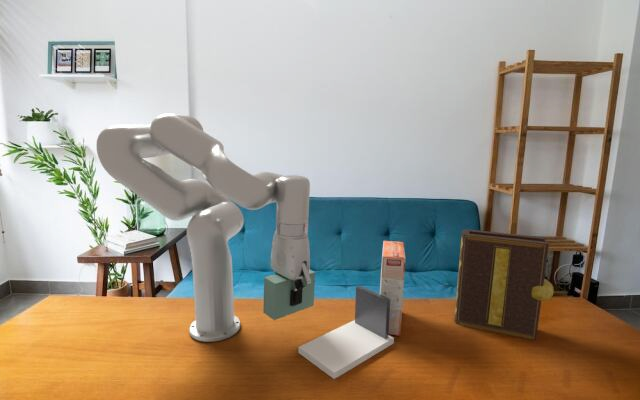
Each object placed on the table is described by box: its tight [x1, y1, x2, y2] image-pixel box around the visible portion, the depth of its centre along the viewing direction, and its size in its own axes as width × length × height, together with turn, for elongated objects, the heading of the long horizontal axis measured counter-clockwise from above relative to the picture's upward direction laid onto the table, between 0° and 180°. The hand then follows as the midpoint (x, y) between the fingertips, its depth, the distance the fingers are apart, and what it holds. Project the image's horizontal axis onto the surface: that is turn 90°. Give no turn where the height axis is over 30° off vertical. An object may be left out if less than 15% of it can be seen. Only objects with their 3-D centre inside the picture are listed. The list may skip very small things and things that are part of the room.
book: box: [453, 229, 554, 341], centre depth 93 cm, size 22×8×25 cm, turn 68°
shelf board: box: [297, 319, 395, 380], centre depth 85 cm, size 12×20×2 cm, turn 131°
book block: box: [262, 269, 316, 321], centre depth 88 cm, size 4×12×9 cm, turn 131°
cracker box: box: [379, 240, 406, 337], centre depth 96 cm, size 14×6×21 cm, turn 169°
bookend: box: [354, 285, 390, 339], centre depth 90 cm, size 10×1×10 cm, turn 41°
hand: (289, 299), depth 88 cm, fingers closed on book block, 4 cm apart
